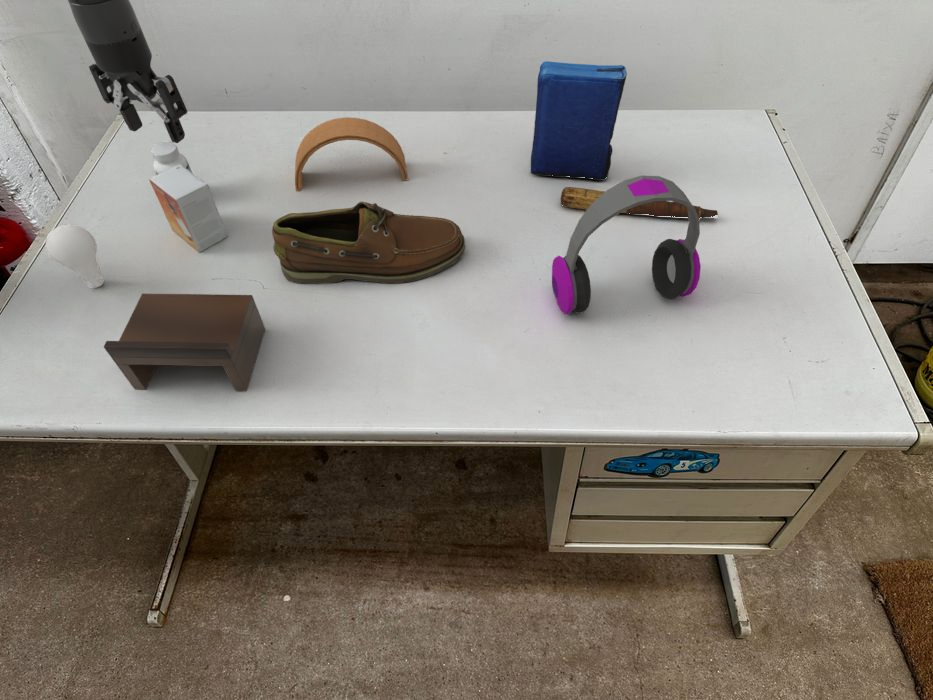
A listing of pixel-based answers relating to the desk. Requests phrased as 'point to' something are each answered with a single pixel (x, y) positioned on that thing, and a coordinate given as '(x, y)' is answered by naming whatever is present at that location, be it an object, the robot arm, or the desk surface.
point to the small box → (189, 207)
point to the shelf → (190, 336)
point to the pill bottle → (167, 157)
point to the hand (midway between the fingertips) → (157, 134)
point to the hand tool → (657, 208)
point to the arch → (347, 131)
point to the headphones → (671, 258)
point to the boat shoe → (364, 245)
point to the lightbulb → (75, 252)
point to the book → (576, 119)
